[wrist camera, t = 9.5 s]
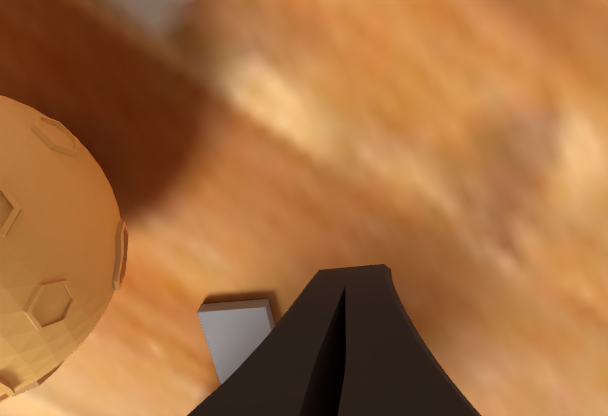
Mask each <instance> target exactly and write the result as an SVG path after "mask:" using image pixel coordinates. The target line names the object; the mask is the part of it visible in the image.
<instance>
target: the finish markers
mask: <svg viewBox="0 0 608 416" xmlns="http://www.w3.org/2000/svg"><path fill="white" fill-rule="evenodd" d="M197 313H198V316H199V319H200V322H201V325H202V329H203V332H204V335H205V338H206V341H207V344H208V347H209V350H210V353H211V356H212V359H213V363H214V366H215V369H216V372H217V375H218V378H219V381H220V384H223V383H224V382H225V381H226V380H227V379H228V378H229V377H230V376H231V375H232V374H233V373H234V372H235V371H236V370H237V369H238V368H239V367H240V365H241V364H242V363H243V362H244V361H245V360H246V359H247V358H248V357H249V356H250V355H251V353H252V352H253V351H254V350H255V349H256V348H257V347H258V346H259V345H260V344H261V342H262V341H263V340H264V339H265V338H266V337H267V335H268V334H269V333H270V332H271V331H272V329H273V328H274V327H275V324H274V320H273V316H272V312H271V308H270V304H269V300H268V299H258V300H245V301H233V302H220V303H207V304H201V306H200V308H199V310H198V312H197Z"/></svg>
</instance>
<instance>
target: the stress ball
mask: <svg viewBox="0 0 608 416" xmlns="http://www.w3.org/2000/svg"><path fill="white" fill-rule="evenodd" d="M127 247H128V229H127V226H126V223H125V221H123V220H121V218H120V212H119V207H118V204H117V201H116V198H115V196H114V193H113V190H112V187H111V185H110V183H109V182H108V180H107V178H106V176H105V174H104V172H103V170H102V169H101V167H100V166H99V164H98V163H97V162H96V160H95V159H94V158H93V156H92V155H91V154H90V152H89V151H88V150H87V149H86V148H85V147H84V146H83V145H82V144H81V143H80V142H79V140H78V139H77V138H76V137H75V136H74V135H73V134H72V133H71V132H70V131H69V130H68V129H67V128H66V127H65V126H63V125H62V124H61V123H60V122H59V121H56V120H54V119H51V118H49V117H47V116H45V115H44V114H42V113H40V112H39V111H37V110H35V109H34V108H32V107H30V106H27V105H25V104H22V103H20V102H18V101H15V100H13V99H11V98H8V97H5V96H2V95H0V403H1V402H3V401H4V400H6V399H8V398H10V397H13V396H16V395H18V394H21V393H23V392H25V391H27V390H30V389H32V388H34V387H37V386H39V385H40V384H41V383H42V382H44V381H45V380H46V379H47V378H48V377H49V376H50V375H52V374H53V373H54V372H55V371H56V370H57V369H58V368H59V366H60V365H61V364H62V363H63V362H64V360H65V359H66V358H67V357H68V356H70V355H71V354H72V353H73V352H74V351H75V350H76V349H77V348H78V347H79V346H80V345H81V343H82V342H83V341H84V340H85V339H86V338H87V337H88V335H89V334H90V333H91V332H92V331H93V329H94V328H95V326H96V324H97V323H98V321H99V320H100V318H101V317H102V315H103V313H104V312H105V310H106V308H107V306H108V304H109V302H110V300H111V298H112V295H113V293H114V290H119V289H120V287H121V284H122V281H123V279H124V276H125V269H126V259H127Z"/></svg>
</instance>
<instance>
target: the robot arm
mask: <svg viewBox="0 0 608 416" xmlns="http://www.w3.org/2000/svg"><path fill="white" fill-rule="evenodd" d="M187 416H481V415H480V414H479V412H478V411H477V410H476V409H475V408H474V407H473V406H472V405H471V403H470V402H469V401H468V400H467V399H466V397H465V396H464V395H463V394H462V393H461V391H460V390H459V389H458V388H457V387H456V385H455V384H454V383H453V382H452V380H451V379H450V378H449V377H448V375H447V374H446V373H445V371H444V370H443V369H442V367H441V366H440V365H439V363H438V362H437V360H436V359H435V357H434V356H433V355H432V353H431V352H430V350H429V349H428V347H427V346H426V344H425V343H424V341H423V340H422V338H421V337H420V335H419V334H418V332H417V330H416V328H415V327H414V325H413V323H412V322H411V320H410V318H409V316H408V315H407V313H406V311H405V309H404V307H403V305H402V303H401V301H400V299H399V297H398V294H397V292H396V290H395V287H394V284H393V281H392V276H391V269H390V268H388V267H387V266H386V265H384V264H380V265H369V266H358V267H347V268H336V269H325V270H319V271H318V272H317V273H316V275H315V276H314V277H313V278H312V280H311V281H310V282H309V283H308V285H307V286H306V287H305V289H304V290H303V291H302V293H301V294H300V295H299V297H298V298H297V299H296V301H295V302H294V303H293V304H292V306H291V307H290V308H289V310H288V311H287V312H286V313H285V315H284V316H283V317H282V318H281V320H280V321H279V322H278V323H277V324H276V326H275V327H274V328H273V329H272V331H271V332H270V333H269V334H268V335H267V337H266V338H265V339H264V340H263V341H262V342H261V344H260V345H259V346H258V347H257V348H256V349H255V350H254V351H253V352H252V353H251V355H250V356H249V357H248V358H247V359H246V360H245V361H244V362H243V363H242V364H241V365H240V367H239V368H238V369H237V370H236V371H235V372H234V373H233V374H232V375H231V376H230V377H229V378H228V379H227V380H226V381H225V382H224V383H223V384H221V385H220V386H219V387H218V388H217V389H216V390H215V391H214V392H213V393H212V394H211V395H210V396H208V397H207V398H206V399H205V400H204V401H203V402H202V403H201V404H200V405H198V406H197V407H196V408H195V409H194V410H193V411H192V412H190V413H189V414H188V415H187Z"/></svg>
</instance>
